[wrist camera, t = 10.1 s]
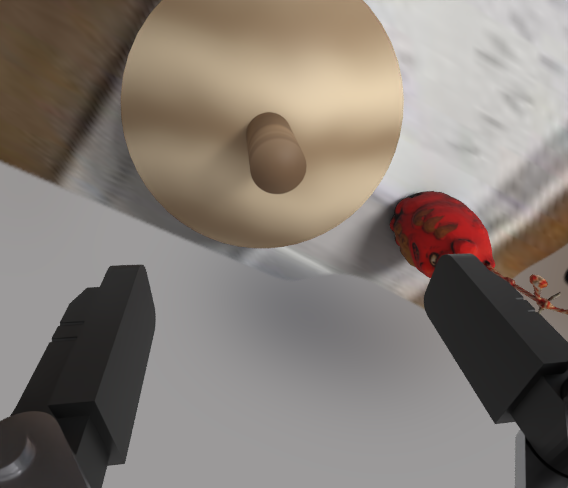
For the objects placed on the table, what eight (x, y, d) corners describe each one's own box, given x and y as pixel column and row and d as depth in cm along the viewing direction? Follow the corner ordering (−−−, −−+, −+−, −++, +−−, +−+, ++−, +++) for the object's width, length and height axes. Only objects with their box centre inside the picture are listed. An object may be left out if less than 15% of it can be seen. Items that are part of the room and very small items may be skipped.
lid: (86, -53, 16) (23, -78, 11) (430, -32, 18) (504, -46, 13) (153, 247, 26) (135, 304, 21) (371, 237, 28) (402, 287, 23)
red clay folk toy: (375, 206, 33) (462, 327, 20) (445, 167, 31) (584, 272, 19) (401, 258, 37) (486, 383, 25) (464, 225, 35) (587, 342, 23)
